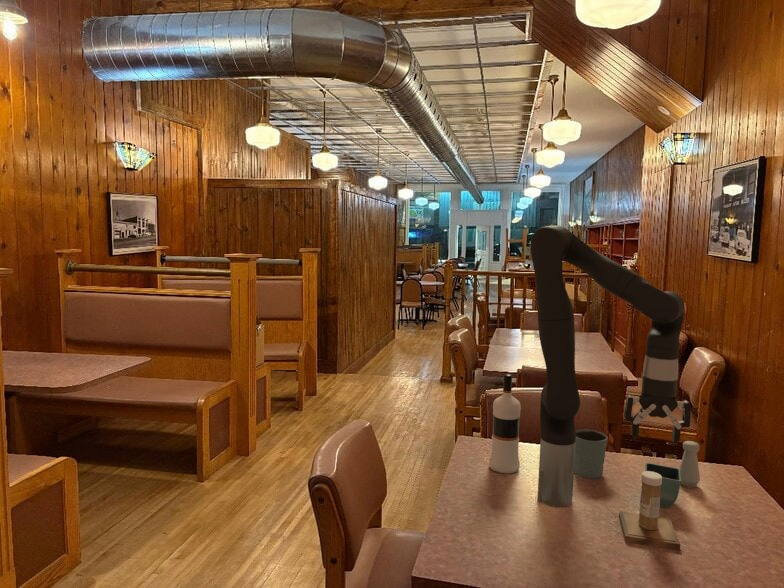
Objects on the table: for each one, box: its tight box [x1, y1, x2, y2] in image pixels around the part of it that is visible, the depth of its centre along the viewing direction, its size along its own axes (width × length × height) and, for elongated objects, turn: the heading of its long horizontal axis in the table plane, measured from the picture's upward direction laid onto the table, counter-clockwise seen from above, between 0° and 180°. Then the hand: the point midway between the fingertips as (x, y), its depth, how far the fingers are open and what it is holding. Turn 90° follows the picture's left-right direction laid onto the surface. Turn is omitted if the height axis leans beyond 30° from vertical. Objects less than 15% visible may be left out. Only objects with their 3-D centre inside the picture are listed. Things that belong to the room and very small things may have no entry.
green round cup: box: [574, 429, 609, 480], centre depth 170 cm, size 10×10×12 cm
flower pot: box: [644, 462, 681, 508], centre depth 152 cm, size 9×9×9 cm
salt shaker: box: [678, 440, 701, 489], centre depth 163 cm, size 6×6×13 cm
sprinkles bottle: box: [638, 470, 662, 530], centre depth 136 cm, size 5×5×13 cm
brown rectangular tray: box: [618, 511, 681, 551], centre depth 137 cm, size 12×12×2 cm
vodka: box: [488, 373, 521, 475], centre depth 171 cm, size 9×9×30 cm
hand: (654, 440), depth 134 cm, fingers open, 8 cm apart
